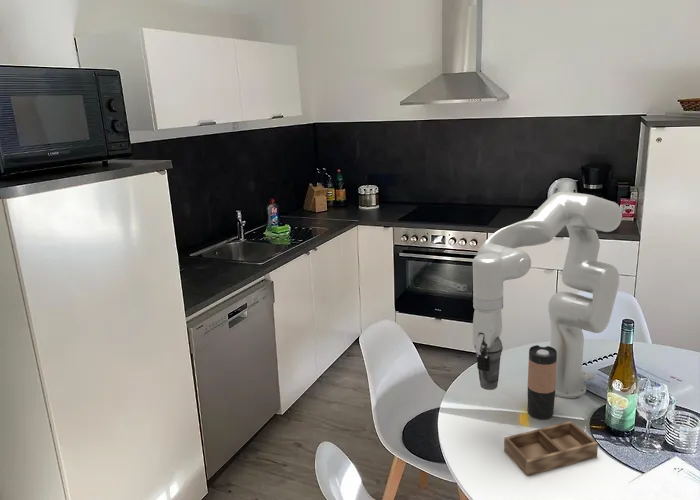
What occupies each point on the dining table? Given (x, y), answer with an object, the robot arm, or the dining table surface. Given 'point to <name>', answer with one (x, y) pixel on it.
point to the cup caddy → (550, 448)
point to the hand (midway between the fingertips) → (488, 362)
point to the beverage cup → (491, 366)
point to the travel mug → (541, 381)
